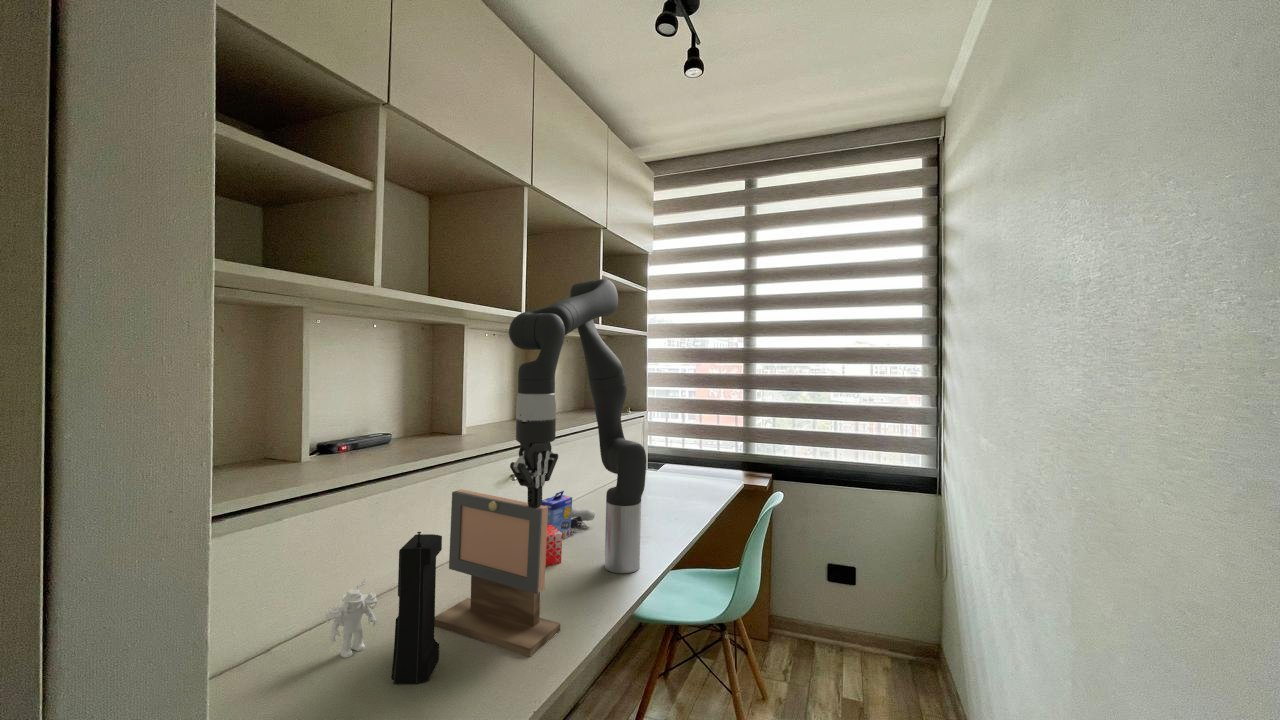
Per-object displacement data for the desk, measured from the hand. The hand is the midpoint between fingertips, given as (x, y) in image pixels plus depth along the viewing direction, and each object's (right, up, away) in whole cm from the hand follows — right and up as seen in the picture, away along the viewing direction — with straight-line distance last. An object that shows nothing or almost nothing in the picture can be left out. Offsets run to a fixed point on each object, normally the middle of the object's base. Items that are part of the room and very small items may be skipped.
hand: (534, 506), depth 99 cm
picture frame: (-9, -16, +4) cm, 18 cm away
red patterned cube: (-6, -26, +39) cm, 47 cm away
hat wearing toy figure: (-32, -25, -5) cm, 41 cm away
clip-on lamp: (-4, -26, +68) cm, 73 cm away
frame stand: (-9, -26, +4) cm, 27 cm away
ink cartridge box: (-5, -26, +55) cm, 61 cm away
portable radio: (-18, -26, -10) cm, 33 cm away
